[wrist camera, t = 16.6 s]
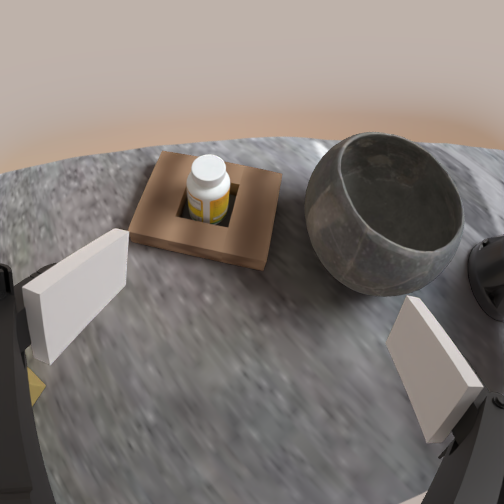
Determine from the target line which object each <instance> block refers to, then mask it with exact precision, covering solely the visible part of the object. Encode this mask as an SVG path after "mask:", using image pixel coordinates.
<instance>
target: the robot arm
mask: <svg viewBox="0 0 504 504" xmlns="http://www.w3.org/2000/svg"><path fill="white" fill-rule="evenodd" d="M128 242H129V231H125V230H121V229H117V228H114V229H113V230H111V231H109V232H108V233H106V234H104V235H102V236H101V237H99V238H97V239H96V240H94V241H92V242H91V243H89V244H88V245H86V246H84V247H83V248H81V249H79V250H78V251H76V252H75V253H73V254H71V255H70V256H68V257H67V258H65V259H64V260H62V261H60V262H59V263H53V264H50V265H47V266H44V267H43V268H41V269H39V270H38V271H37V272H36V273H33V274H32V275H30V277H27V278H26V279H24V280H23V281H21V282H20V283H18V284H17V285H15V286H14V287H13V278H12V270H11V268H10V267H9V266H8V265H5V264H0V504H56V502H55V499H54V496H53V493H52V490H51V487H50V484H49V480H48V477H47V473H46V469H45V466H44V462H43V458H42V454H41V450H40V445H39V441H38V436H37V431H36V426H35V421H34V415H33V409H32V403H31V396H30V389H29V381H28V372H27V361H26V355H25V349H26V348H27V347H28V346H29V345H30V344H31V348H32V352H33V357H34V358H36V359H38V360H40V361H42V362H44V363H46V364H48V365H51V364H52V363H53V362H54V361H55V360H56V359H57V357H58V356H59V355H60V354H61V353H62V352H63V351H64V350H65V349H66V347H67V346H68V345H69V344H70V343H71V342H72V341H73V340H74V339H75V338H76V337H77V335H78V334H79V333H80V332H81V331H82V330H83V329H84V328H85V327H86V326H87V325H88V324H89V323H90V322H91V320H92V319H93V318H94V317H95V316H96V315H97V314H98V313H99V312H100V311H101V310H102V309H103V308H104V307H105V306H106V305H107V304H108V303H109V302H110V301H111V300H112V299H113V298H114V297H115V295H116V294H117V293H118V292H119V291H120V290H121V289H122V288H123V287H124V286H125V285H126V270H127V255H128ZM468 273H469V279H470V284H471V287H472V290H473V293H474V295H475V297H476V299H477V301H478V303H479V305H480V306H481V308H482V309H483V310H484V311H485V312H486V313H487V314H488V315H489V316H490V317H492V318H493V319H495V320H499V321H504V234H503V235H499V236H495V237H491V238H487V239H485V240H483V241H482V242H480V243H479V244H478V245H476V246H475V247H474V248H473V250H472V251H471V254H470V257H469V263H468ZM385 344H386V346H387V348H388V350H389V353H390V355H391V357H392V359H393V362H394V364H395V366H396V368H397V371H398V373H399V375H400V378H401V380H402V382H403V385H404V387H405V389H406V392H407V394H408V397H409V399H410V401H411V404H412V406H413V409H414V411H415V414H416V416H417V419H418V421H419V424H420V427H421V429H422V432H423V434H424V437H425V440H426V442H427V443H442V442H443V441H444V440H445V439H446V438H447V436H448V435H449V434H450V433H451V431H452V433H453V435H454V437H455V439H454V440H453V441H452V442H451V443H450V444H449V446H448V447H447V448H446V449H445V450H444V451H443V453H442V454H441V455H440V456H439V457H438V458H439V459H441V458H442V457H443V456H444V458H443V460H442V463H441V465H440V467H439V469H438V471H437V473H436V475H435V477H434V480H433V482H432V484H431V486H430V488H429V489H428V491H427V493H426V495H425V497H424V499H423V501H422V503H421V504H504V396H503V395H502V394H499V393H497V392H489V391H488V389H487V388H486V386H485V385H484V383H483V382H482V380H481V379H480V377H479V376H478V375H476V372H475V370H474V369H473V368H472V366H471V364H470V363H469V361H468V360H467V359H466V358H465V357H464V356H463V355H462V354H461V353H460V351H459V350H458V349H457V347H456V346H455V344H454V343H453V342H452V340H451V339H450V337H449V336H448V335H447V333H446V332H445V331H444V329H443V328H442V327H441V325H440V324H439V323H438V321H437V320H436V319H435V317H434V316H433V315H432V313H431V312H430V311H429V310H428V308H427V307H426V306H425V304H424V303H423V302H422V301H421V299H420V298H417V297H412V296H408V295H406V298H405V300H404V303H403V305H402V307H401V310H400V312H399V314H398V317H397V319H396V321H395V323H394V326H393V328H392V330H391V332H390V334H389V336H388V339H387V341H386V343H385Z"/></svg>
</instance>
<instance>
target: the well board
mask: <svg viewBox="0 0 504 504" xmlns="http://www.w3.org/2000/svg"><path fill="white" fill-rule="evenodd" d="M197 158H198V157H197V156H191V155H185V154H179V153H173V152H167V151H162V152H161V155H160V157H159V159H158V161H157V163H156V165H155V167H154V170H153V172H152V174H151V176H150V178H149V181H148V183H147V185H146V187H145V190H144V192H143V194H142V197H141V199H140V201H139V204H138V206H137V208H136V211H135V213H134V216H133V218H132V221H131V223H130V226H129V228H128V231H129V236H130V238H131V241H132V242H134V243H139V244H143V245H148V246H152V247H156V248H161V249H165V250H170V251H174V252H178V253H183V254H187V255H192V256H196V257H201V258H205V259H210V260H214V261H219V262H224V263H228V264H233V265H237V266H242V267H246V268H251V269H256V270H260V271H263V270H264V267H265V265H266V262H267V256H268V251H269V246H270V240H271V235H272V229H273V224H274V218H275V212H276V207H277V201H278V196H279V190H280V184H281V179H282V174H281V173H276V172H272V171H267V170H263V169H258V168H253V167H249V166H244V165H239V164H234V163H229V162H224V163H225V165H226V172H227V173H228V175H229V178H230V191H229V201H228V211H227V215H226V217H225V218H224V220H223V221H221V222H220V223H218V224H216V225H213V224H209V223H204V222H199V221H194V220H193V219H192V218H191V216H190V213H189V206H188V199H187V198H188V195H187V178H188V175H189V174H190V172H191V167H192V164H193V162H194V160H195V159H197ZM186 201H187V202H186ZM185 204H186V205H185Z"/></svg>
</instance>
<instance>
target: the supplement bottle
mask: <svg viewBox="0 0 504 504" xmlns="http://www.w3.org/2000/svg"><path fill="white" fill-rule="evenodd" d="M229 191H230V178H229V175H228V173H227V172H226V165H225V163H224V161H223V160H222V159H221V158H220V157H218V156H215V155H203V156H200V157H198V158H197V159H195V160H194V162H193V164H192V167H191V172H190V174H189V175H188V178H187V195H188V206H189V213H190V216H191V218H192V219H193V220H194V221H199V222H204V223H209V224H213V225H216V224H218V223H220V222H221V221H223V220H224V218H225V217H226V215H227V211H228V201H229Z"/></svg>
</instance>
